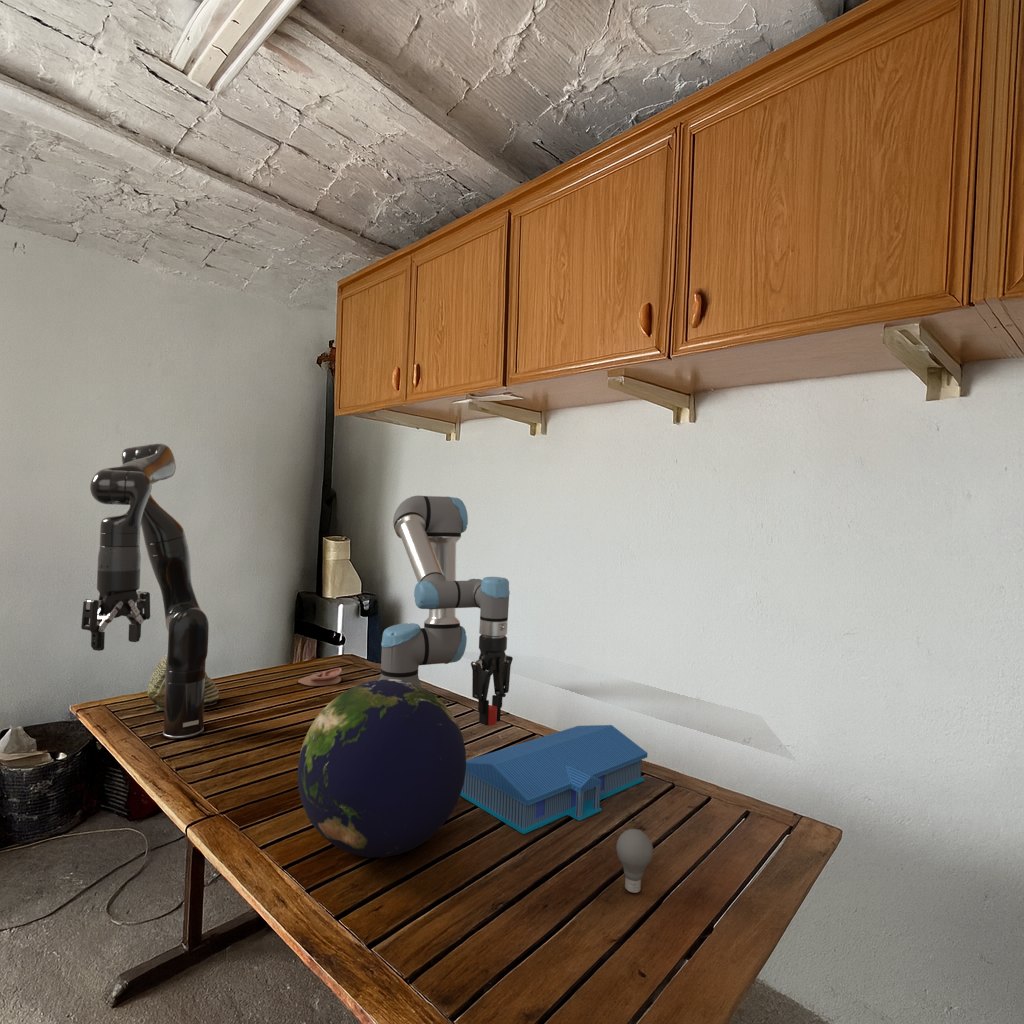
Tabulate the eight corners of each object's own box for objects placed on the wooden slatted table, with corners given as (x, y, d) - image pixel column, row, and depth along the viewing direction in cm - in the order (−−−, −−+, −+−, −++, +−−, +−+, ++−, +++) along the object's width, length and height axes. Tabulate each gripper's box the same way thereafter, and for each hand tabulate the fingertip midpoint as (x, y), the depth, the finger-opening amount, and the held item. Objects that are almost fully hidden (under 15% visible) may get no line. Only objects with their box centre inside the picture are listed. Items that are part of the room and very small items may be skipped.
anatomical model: (293, 672, 210) (311, 663, 221) (292, 684, 210) (310, 675, 221) (330, 676, 207) (346, 667, 219) (329, 688, 208) (345, 678, 219)
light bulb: (610, 879, 108) (613, 822, 108) (644, 879, 109) (647, 822, 109) (619, 902, 102) (622, 840, 102) (655, 901, 103) (658, 840, 103)
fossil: (144, 707, 182) (145, 655, 182) (212, 696, 194) (213, 647, 194) (151, 716, 175) (153, 662, 175) (221, 703, 188) (223, 653, 188)
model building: (535, 841, 120) (537, 789, 119) (456, 793, 138) (458, 747, 137) (656, 785, 146) (658, 742, 146) (576, 751, 164) (578, 712, 164)
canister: (496, 720, 172) (497, 705, 172) (496, 725, 168) (497, 710, 168) (482, 720, 172) (483, 704, 172) (482, 725, 168) (482, 709, 168)
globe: (256, 866, 108) (262, 691, 107) (361, 794, 135) (366, 654, 135) (408, 917, 96) (416, 722, 96) (488, 827, 124) (495, 675, 123)
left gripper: (103, 572, 123) (100, 655, 123) (161, 565, 136) (159, 640, 137) (72, 569, 125) (70, 651, 125) (133, 563, 138) (131, 637, 139)
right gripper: (479, 641, 161) (475, 733, 161) (525, 634, 173) (521, 719, 173) (460, 636, 166) (456, 725, 167) (506, 629, 178) (502, 711, 179)
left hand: (116, 645), depth 131 cm, fingers open, 8 cm apart
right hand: (489, 721), depth 170 cm, fingers closed on canister, 4 cm apart
